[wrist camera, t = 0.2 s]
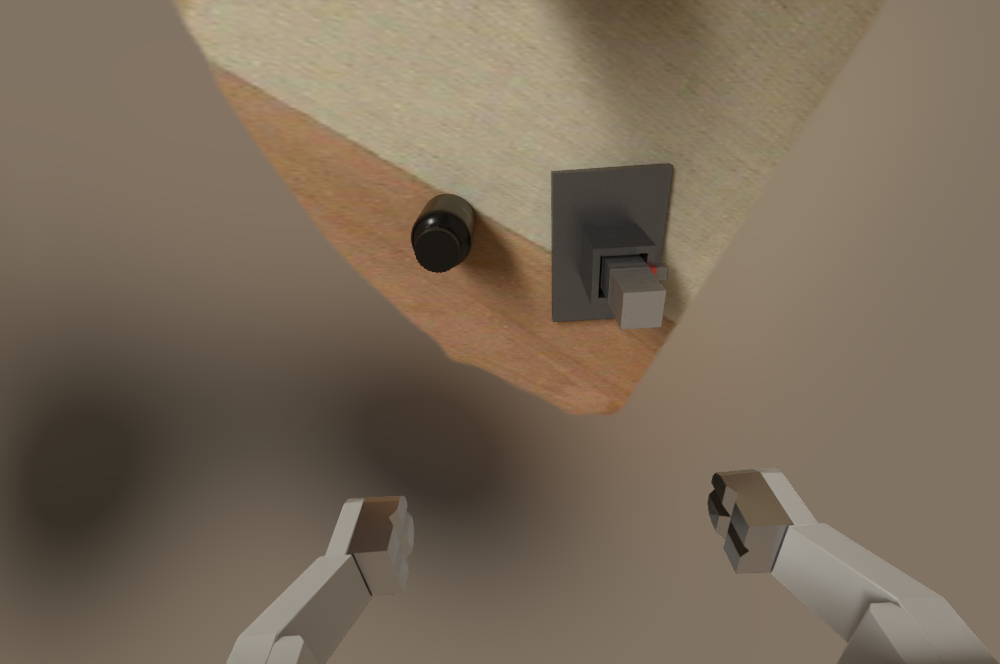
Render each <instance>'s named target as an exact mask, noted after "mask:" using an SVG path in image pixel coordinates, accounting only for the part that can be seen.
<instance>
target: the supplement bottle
mask: <svg viewBox="0 0 1000 664" xmlns="http://www.w3.org/2000/svg"><path fill="white" fill-rule="evenodd" d="M475 224H476V220H475V215H474V212H473V209H472V208H471V206H470V205H469V203H468V202H467V201H465V200H464V199H463V198H461V197H459V196H457V195H454V194H441V195H438V196H436V197H434V198H432V199H431V200H430V201H429V202H428V203H427V204H426V206H425V207H424V209H423V210H422V212H421V214H420V215H419V217H418V218H417V220H416V222H415V223H414V225H413V228H412V232H411V244H412V247H413V250H414V252H415V255H416V259H417V260H418V262H419V263H420V265H421V266H423V267H424V268H425V269H427V270H428V271H432V272H436V273H438V272H440V273H442V272H446V271H448V270H450V269H451V268H453V267H456V266H458V265H459V264H461V263H462V262H463V261H464V260H465V259H466V258H467V256H468V254H469V252H470V250H471V246H472V241H473V236H474V231H475Z"/></svg>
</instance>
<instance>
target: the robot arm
mask: <svg viewBox="0 0 1000 664" xmlns="http://www.w3.org/2000/svg"><path fill="white" fill-rule="evenodd" d="M711 483H712V485H713V487H714V490H713V491H712V492H711V493H710V494H709V497H708V511H709V516H710V519H711V522H712V524H713V527H714V529H715V531H716V532H717V533H718V534H720V535H721V536H722V537H723V538H725V539H726V540H725V544H724V550H725V552H726V554H727V556H728V558H729V560H730V563H731V565H732V567H733V569H734V571H735V573H736V574H737V573H765V572H766V573H767V572H772V575H773V576H774V577H775V578H776V579H777V580H778V581H780V582H781V583H782V584H783V585H784V586H785V587H786V588H787V589H788V590H790V591H791V592H792V593H793V594H794V595H795V596H796V597H797V598H798V599H800V600H801V601H802V602H803V603H804V604H805V605H806V606H807V607H808V608H810V609H811V610H812V611H813V612H814V613H815V614H816V615H818V616H819V617H820V618H821V619H822V620H823V621H824V622H825V623H826V624H827V625H828V626H830V627H831V628H832V629H833V630H834V631H835V632H836V633H837V634H839V635H840V636H841V637H842V638H843V639H844V640H845V641H846V642H847V645H846V647H845V649H844V650H843V652H842V654H841V655H840V657H839V659H838V662H837V664H999V663H998V662H997V660H996V659H995V658H994V657H993V656H992V655H991V653H990V652H989V651H988V650H987V649H986V647H985V646H984V645H983V644H982V643H981V642H980V641H979V639H978V638H977V637H976V636H975V634H974V633H973V632H972V631H971V630H970V629H969V627H968V626H967V625H966V624H965V623H964V621H963V620H962V619H961V618H960V617H959V615H958V614H957V613H956V612H955V611H954V609H953V608H952V607H951V606H950V605H949V604H948V603H947V601H946V600H945V599H944V598H943V597H941V596H940V595H938V594H937V593H935V592H933V591H932V590H930V589H928V588H927V587H925V586H924V585H922V584H921V583H919V582H917V581H916V580H914V579H913V578H911V577H909V576H908V575H906V574H905V573H903V572H902V571H900V570H898V569H897V568H895V567H894V566H892V565H890V564H889V563H887V562H886V561H884V560H882V559H881V558H879V557H878V556H876V555H875V554H873V553H871V552H870V551H868V550H867V549H865V548H863V547H862V546H860V545H859V544H857V543H855V542H854V541H852V540H851V539H849V538H847V537H846V536H844V535H843V534H841V533H840V532H838V531H836V530H835V529H833V528H832V527H830V526H828V525H827V524H825V523H820V524H819V523H818V522H817V521H816V519H815V518H814V517H813V515H812V514H811V513H810V511H809V510H808V508H807V507H806V505H805V504H804V503H803V501H802V500H801V499H800V497H799V496H798V494H797V493H796V492H795V490H794V489H793V487H792V486H791V485H790V483H789V482H788V480H787V479H786V478H785V476H784V475H783V473H782V472H781V471H780V470H778V469H777V468H769V469H756V470H753V469H751V470H739V471H729V472H716V473H715V474H714V475H713V477H712V481H711ZM406 509H407V502H406V499H405V497H404V496H394V497H372V498H356V499H348V500H347V501H346V503H345V504H344V506H343V508H342V511H341V514H340V516H339V520H338V522H337V525H336V527H335V530H334V533H333V536H332V538H331V541H330V544H329V547H328V549H327V552H326V555H325V556H321V557H319V558H318V559H317V560H316V561H315V562H314V563H313V564H312V565H311V566H310V567H309V568H308V569H307V570H306V571H305V572H304V573H303V574H301V575H300V576H299V577H298V578H297V579H296V580H295V581H294V582H293V583H292V584H291V586H289V587H288V589H286V591H284V592H283V593H282V594H281V595H280V596H279V597H278V598H277V599H276V600H275V601H274V602H273V603H272V604H271V605H270V606H269V607H268V608H267V609H266V610H265V612H263V613H262V614H261V615H260V616H259V617H258V618H257V619H256V620H255V621H254V622H253V623H252V624H251V625H250V626H249V627H248V628H247V629H246V630H245V631H244V632H243V633H242V634H241V635H240V636H239V637H238V639H237V641H236V643H235V645H234V648H233V650H232V652H231V654H230V656H229V658H228V660H227V663H226V664H325V663H326V662H327V661H328V659H329V658H330V657H331V655H332V654H333V652H334V651H335V650H336V648H337V646H338V645H339V644H340V643H341V641H342V640H343V638H344V637H345V636H346V634H347V633H348V631H349V630H350V629H351V627H352V626H353V624H354V623H355V622H356V620H357V619H358V617H359V616H360V615H361V613H362V612H363V610H364V609H365V608H366V606H367V605H368V603H369V602H370V601H371V599H372V598H371V597H372V596H383V595H394V594H404V591H405V586H406V581H407V575H408V570H409V567H408V564H407V561H406V558H407V557H408V555H409V554H410V553H411V552H412V548H413V542H414V526H413V520H412V517H411V515H410V514H409V513H407V512H406Z"/></svg>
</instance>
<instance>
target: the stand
mask: <svg viewBox="0 0 1000 664" xmlns="http://www.w3.org/2000/svg"><path fill="white" fill-rule="evenodd" d="M672 171H673V165H671V164H669V163H666V164H651V165H636V166H622V167H607V168H592V169H577V170H563V171H551V212H552V319H553V322H560V321H577V320H595V319H613V318H615V317H614V314H613V312H612V310H611V308H610V306H609V304H608V303H607V301H606V297H605V295H604V293H603V291H602V289H601V288H600V286H599V274H600V256H607V255H623V254H639V255H640V256H641V258H642V259H643V260H644V262H645V263H646V264H648V266H649V267H650V270H651V271H652V272H653V273H654V275H655V276H656V277H657V279H658V280H659V281H660V280H666V279H667V272H668V266H667V265H666V264H665V263H661V255H662V248H663V240H664V232H665V225H666V217H667V209H668V202H669V194H670V187H671V179H672Z"/></svg>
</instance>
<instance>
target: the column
mask: <svg viewBox="0 0 1000 664" xmlns="http://www.w3.org/2000/svg"><path fill="white" fill-rule="evenodd" d="M599 286H600V288H601V289H602V291H603V293H604V295H605V297H606V301H607V303H608V304H609V306H610V308H611V310H612V312H613V314H614V317H615V319H616V321H617V323H618V325H619V327H620V329H637V328H655V327H661V325H662V318H663V311H664V304H665V297H666V289H665V288H664V287H663V285H662V284H661V283H660V281H659V280H658V279H657V277H656V276H655V275H654V273H653V272H652V271H651V270H650V267H649V266H648V264H646V263H645V262H644V260H643V259H642V258H641V256H640V255H639V254H623V255H607V256H600V274H599Z"/></svg>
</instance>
